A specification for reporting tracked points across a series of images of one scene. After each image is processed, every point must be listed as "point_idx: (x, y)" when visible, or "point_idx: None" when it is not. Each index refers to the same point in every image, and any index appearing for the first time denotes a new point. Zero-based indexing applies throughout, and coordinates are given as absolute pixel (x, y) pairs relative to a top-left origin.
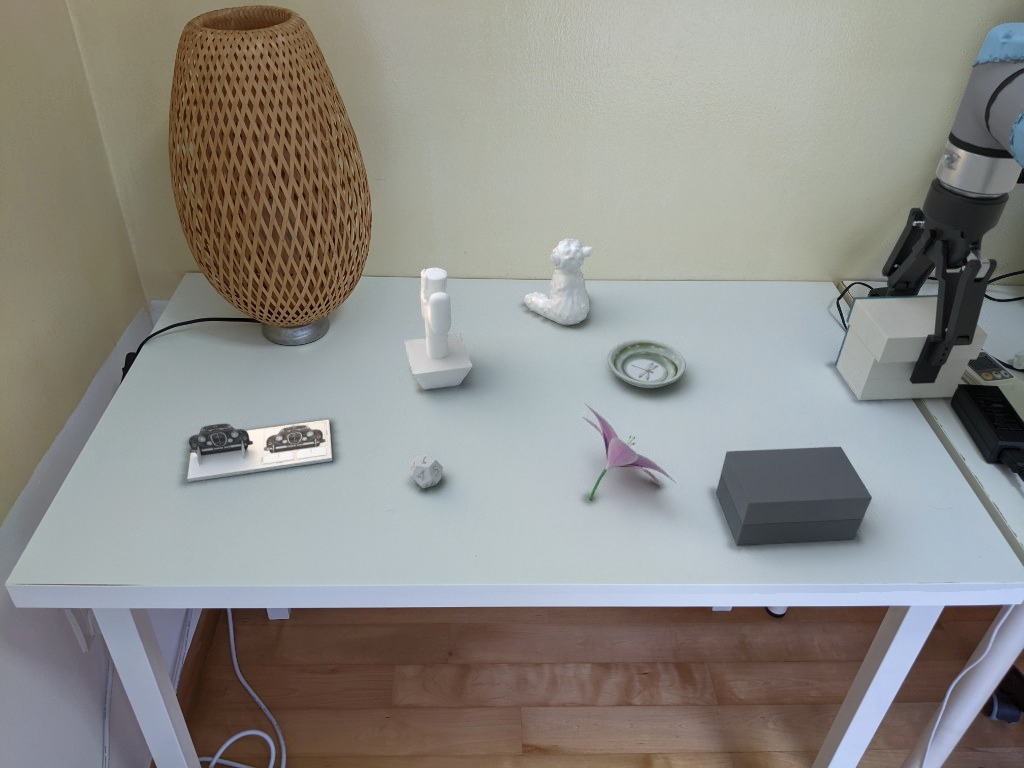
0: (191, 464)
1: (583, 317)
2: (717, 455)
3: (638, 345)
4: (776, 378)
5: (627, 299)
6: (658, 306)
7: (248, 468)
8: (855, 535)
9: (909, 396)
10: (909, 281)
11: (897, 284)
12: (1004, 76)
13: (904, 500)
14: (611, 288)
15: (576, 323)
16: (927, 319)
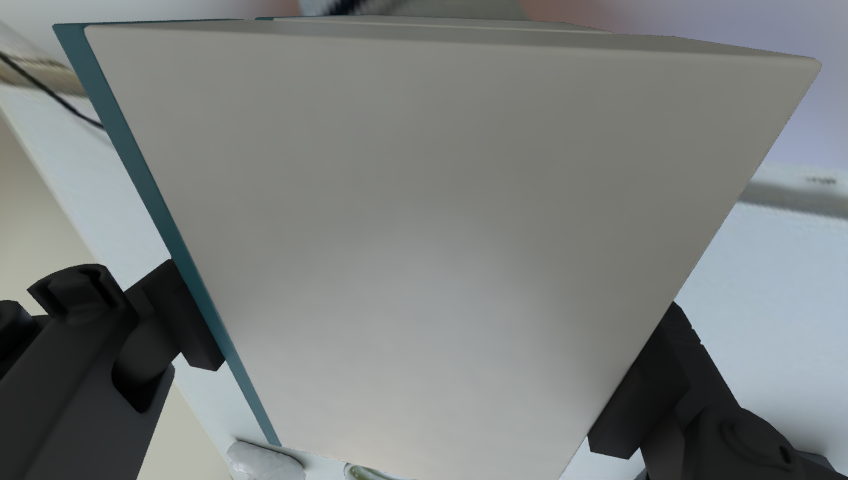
0: None
1: (295, 473)
2: (566, 473)
3: (352, 470)
4: None
5: (230, 413)
6: (237, 396)
7: None
8: (833, 468)
9: None
10: (112, 385)
11: (146, 377)
12: None
13: (822, 367)
14: (209, 415)
15: (298, 462)
16: (434, 356)
